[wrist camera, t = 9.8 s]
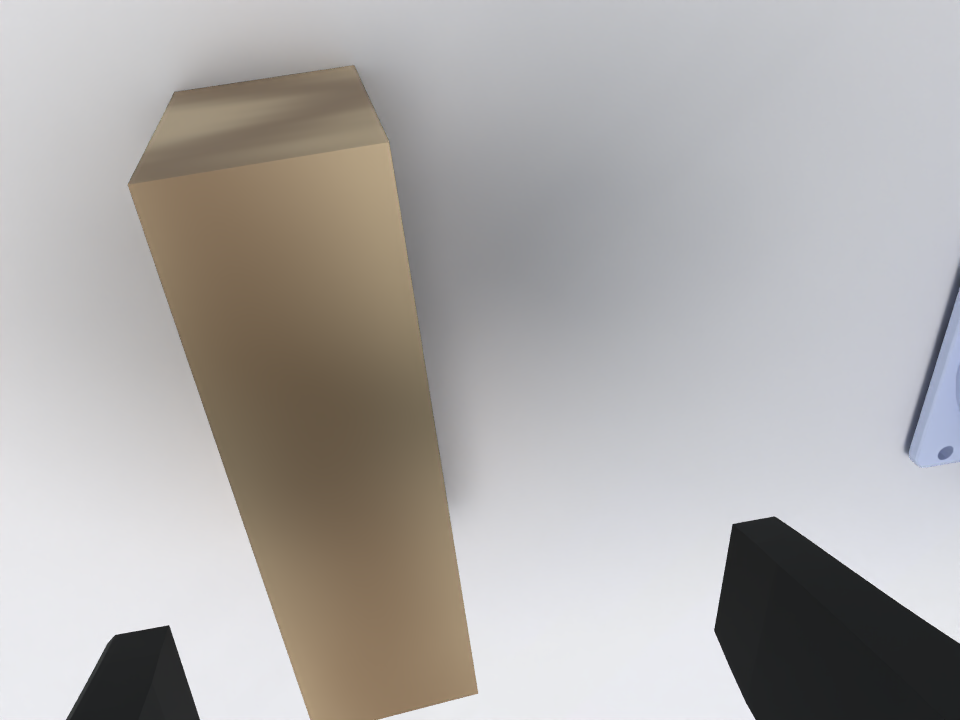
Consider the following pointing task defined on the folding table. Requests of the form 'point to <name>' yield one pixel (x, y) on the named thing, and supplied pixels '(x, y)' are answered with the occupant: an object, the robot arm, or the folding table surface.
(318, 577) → the tan rectangular block
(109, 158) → the folding table surface
